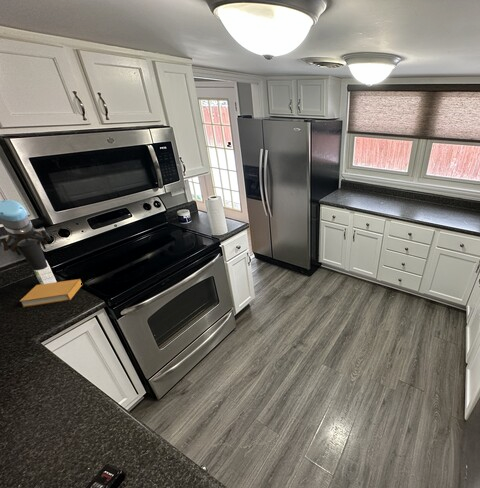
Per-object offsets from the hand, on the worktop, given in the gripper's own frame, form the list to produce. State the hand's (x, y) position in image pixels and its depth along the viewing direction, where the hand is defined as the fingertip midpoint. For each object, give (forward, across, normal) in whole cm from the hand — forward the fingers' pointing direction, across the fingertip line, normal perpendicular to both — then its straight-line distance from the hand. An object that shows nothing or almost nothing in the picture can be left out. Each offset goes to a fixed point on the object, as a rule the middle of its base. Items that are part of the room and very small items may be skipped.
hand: (31, 249), depth 124 cm
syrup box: (+26, 0, -10) cm, 28 cm away
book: (+16, 0, -19) cm, 25 cm away
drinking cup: (+4, 0, -9) cm, 9 cm away
